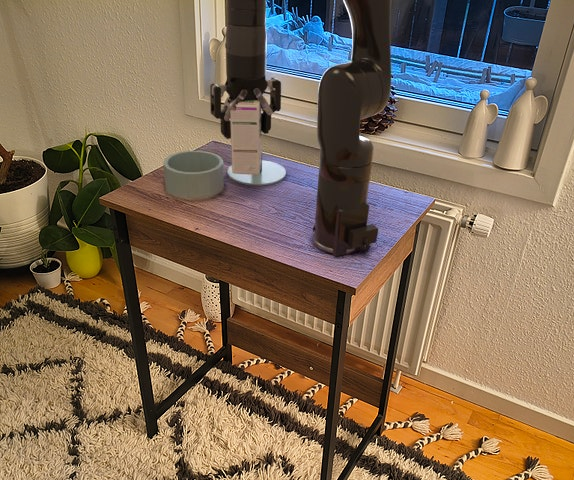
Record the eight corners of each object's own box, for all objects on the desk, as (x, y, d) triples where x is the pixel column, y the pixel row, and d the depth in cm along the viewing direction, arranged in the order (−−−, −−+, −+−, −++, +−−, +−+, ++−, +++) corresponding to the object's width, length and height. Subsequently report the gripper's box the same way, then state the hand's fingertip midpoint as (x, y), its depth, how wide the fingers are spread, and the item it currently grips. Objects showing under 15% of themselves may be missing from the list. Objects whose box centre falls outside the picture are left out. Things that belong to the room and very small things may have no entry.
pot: (232, 195, 126) (231, 168, 123) (176, 205, 122) (174, 177, 118) (211, 173, 136) (210, 147, 132) (158, 181, 131) (156, 155, 127)
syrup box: (259, 175, 118) (260, 104, 110) (230, 174, 118) (229, 102, 110) (261, 164, 123) (262, 95, 114) (233, 162, 123) (232, 93, 114)
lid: (296, 182, 133) (297, 158, 130) (241, 192, 128) (241, 167, 124) (270, 160, 143) (270, 137, 139) (218, 169, 138) (217, 145, 134)
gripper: (217, 57, 101) (219, 146, 111) (289, 51, 107) (286, 136, 116) (202, 47, 107) (206, 133, 116) (272, 42, 112) (270, 124, 122)
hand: (246, 134), depth 116 cm, fingers closed on syrup box, 7 cm apart
